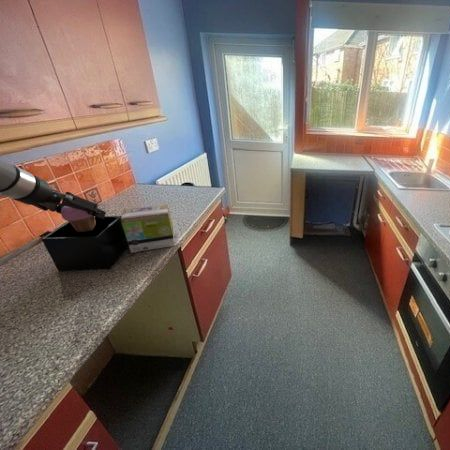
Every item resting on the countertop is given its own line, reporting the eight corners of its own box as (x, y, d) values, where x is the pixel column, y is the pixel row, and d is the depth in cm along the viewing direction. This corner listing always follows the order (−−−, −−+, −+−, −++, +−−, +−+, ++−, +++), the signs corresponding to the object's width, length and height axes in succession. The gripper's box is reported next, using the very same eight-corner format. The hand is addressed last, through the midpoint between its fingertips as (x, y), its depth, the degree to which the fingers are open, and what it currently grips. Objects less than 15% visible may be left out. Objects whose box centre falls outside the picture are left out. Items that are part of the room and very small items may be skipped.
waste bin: (58, 271, 82) (41, 238, 76) (87, 245, 95) (75, 216, 90) (109, 269, 84) (96, 237, 78) (131, 244, 97) (122, 215, 91)
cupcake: (99, 233, 82) (88, 205, 78) (66, 238, 79) (52, 209, 74) (104, 221, 89) (94, 195, 85) (73, 225, 86) (62, 199, 81)
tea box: (130, 254, 92) (118, 218, 85) (133, 241, 100) (123, 207, 93) (175, 246, 98) (167, 212, 91) (175, 234, 105) (167, 202, 99)
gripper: (-28, 198, 62) (54, 224, 84) (60, 201, 63) (119, 226, 85) (-16, 172, 64) (60, 204, 86) (69, 174, 65) (124, 206, 87)
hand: (89, 215), depth 85 cm, fingers closed on cupcake, 9 cm apart
